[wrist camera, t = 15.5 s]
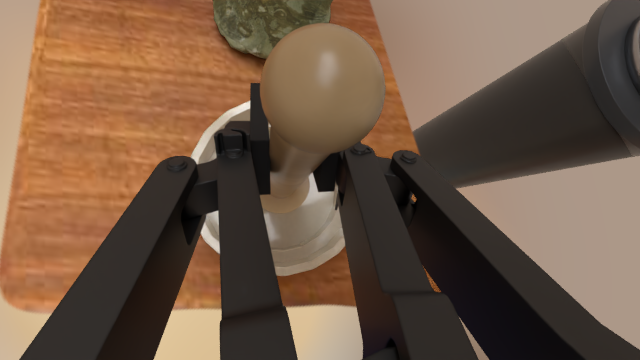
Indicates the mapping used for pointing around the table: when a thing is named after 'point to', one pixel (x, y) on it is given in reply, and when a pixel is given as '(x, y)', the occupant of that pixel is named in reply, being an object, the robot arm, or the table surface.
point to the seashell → (265, 21)
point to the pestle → (316, 105)
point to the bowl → (283, 215)
